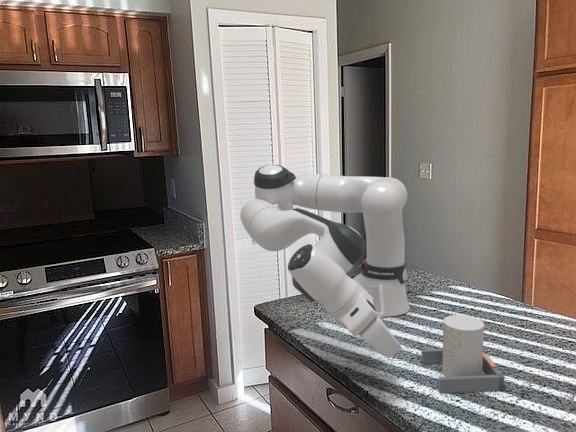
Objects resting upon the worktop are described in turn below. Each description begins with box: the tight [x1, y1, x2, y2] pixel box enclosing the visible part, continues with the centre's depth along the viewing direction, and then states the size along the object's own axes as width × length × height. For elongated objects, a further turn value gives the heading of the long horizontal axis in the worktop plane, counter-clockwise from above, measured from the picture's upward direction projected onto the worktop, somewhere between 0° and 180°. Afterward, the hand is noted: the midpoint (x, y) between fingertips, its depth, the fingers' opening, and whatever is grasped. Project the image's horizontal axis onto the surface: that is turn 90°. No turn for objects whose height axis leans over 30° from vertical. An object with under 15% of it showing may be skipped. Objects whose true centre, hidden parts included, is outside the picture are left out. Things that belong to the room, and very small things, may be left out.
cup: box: [441, 314, 485, 377], centre depth 99 cm, size 8×8×12 cm
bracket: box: [420, 348, 506, 394], centre depth 99 cm, size 13×13×4 cm
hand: (397, 348), depth 98 cm, fingers closed
